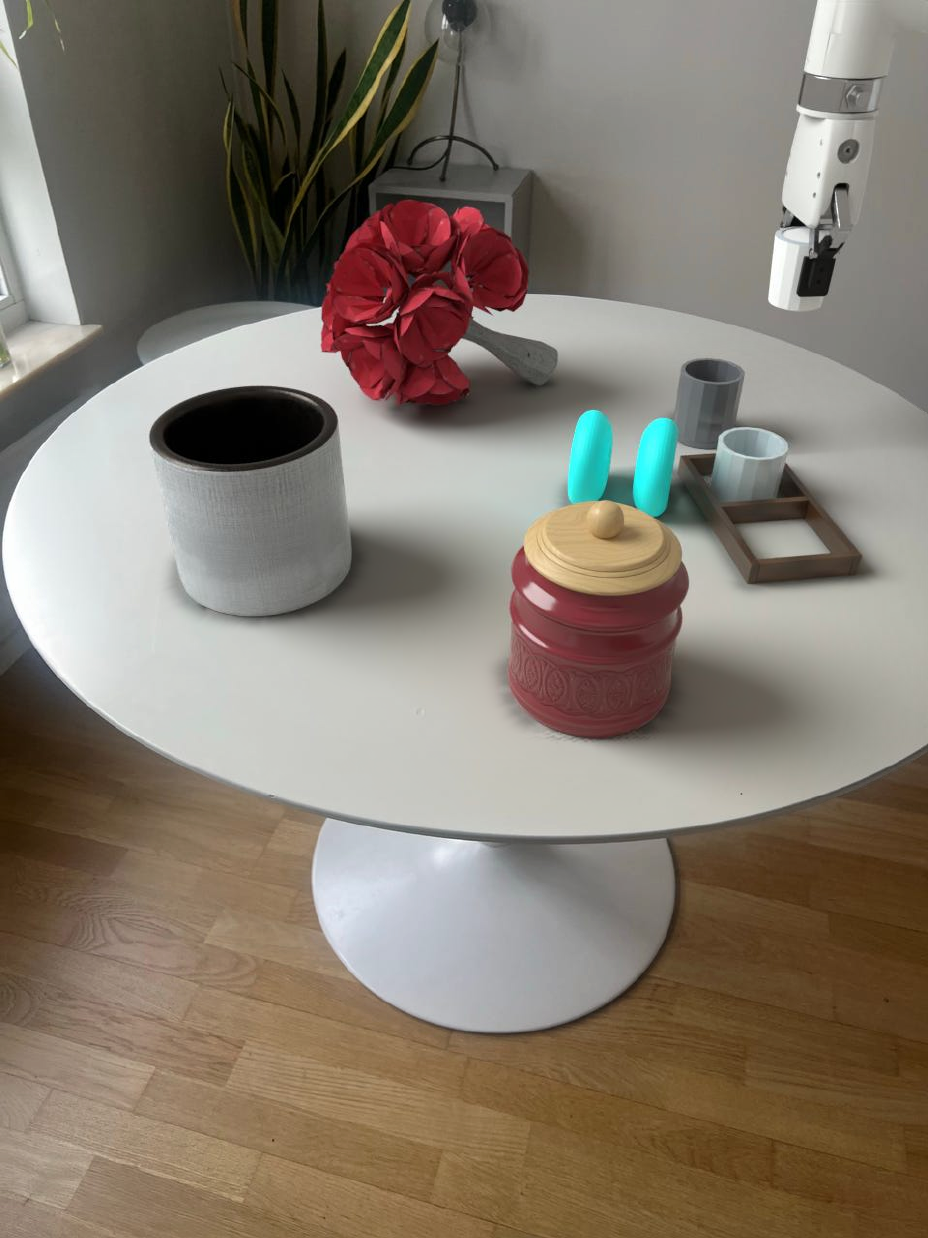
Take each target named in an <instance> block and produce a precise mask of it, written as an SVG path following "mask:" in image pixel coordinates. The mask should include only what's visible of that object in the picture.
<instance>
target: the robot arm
mask: <svg viewBox="0 0 928 1238" xmlns="http://www.w3.org/2000/svg"><path fill="white" fill-rule="evenodd" d="M814 11H815V12H814V16H813V22H812V26H811V32H810V37H809V42H808V47H807V53H806V57H805V63H804V68H803V74H802V78H801V84H800V88H799V93H798V99H797V103H796V109H795V110H796V112H798V113H799V117H798V121H797V125H796V129H795V131H794V135H793V136H794V137H793V140H792V143H791V147H790V152H789V155H788V160H787V164H786V169H785V173H784V174H785V175H784V180H783V186H782V193H781V201H782V205H783V206H782V207H781V209H782V212H783V213H782V214H783V216H782V218H781V221H780V223H779V230H780V229H782V228H788V227H804V226H805V227H809V228H810V231H809V253H808V256H804V259H803V263H802V268H801V272H800V277H799V282H798V286H797V291H796V294H797V295H798V296H799V297H819V296H824V297H826V296H828V294H829V291H830V288H831V287H830V286H831V283H832V278H833V274H834V269H835V266H836V263H837V260H836V258H837V259H838V258H839V256H840V253H841V249H842V248H843V246H844V245H845V242H846V240H847V239H848V237H849V236H850V235H851V233H852V230H853V228H854V227H856V225H857V224H858V222H859V220H860V215H861V210H862V206H863V201H864V197H865V192H866V187H867V183H868V177H869V171H870V168H871V161H872V156H873V155H872V154H873V147H874V141H875V140H874V137H875V129H876V118H875V117H877V116H878V115H879V112H880V107H881V103H882V99H883V95H884V91H885V86H886V82H887V80H888V79H887V78H888V75H889V71H890V67H891V62H892V58H893V54H894V51H895V46H896V42H897V38H898V34H899V32H900V31H909V32H918V33H924V34H928V0H817V2H816V7H815V10H814ZM820 220H832V223H821V222H820ZM819 232H830V234H829V235H825V236H824V238H823V239H822V240H821V241H820V243H819ZM835 262H836V263H835Z"/></svg>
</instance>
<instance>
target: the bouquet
mask: <svg viewBox="0 0 928 1238" xmlns="http://www.w3.org/2000/svg"><path fill="white" fill-rule="evenodd" d="M484 221H485V218H484V216H483V213H482V211H481V210H480V209H479V208H476V207H472V206H464V207H461V208H460V206H458V207H457V209H456V211H455V212H454V213H453V215H452V214H451V215H448V213H447V212H446V211H445V210H444V209H443V208H441V207H440V206H438V205H435V204H433V203H428V202H422V201H418V200H413V199H405V200H404V199H403V200H398V201H397V202H396V203H395V204H394V203H389V204H386V205H385V206H383V208H382V209H380V210H377V211H375V213H374V214H371V215H370V216H369V217H367V219H365V220H364V221H363V223H362V224H361V226H358V227H357V228H356V229H355V230H354V232H353V233H352V234H351V235H350V236H349V238H348V240H347V242H346V245H345V247H344V250H343V252H342V253H341V254H340V256H339V258H338V260H337V261H335V262H333V269H334V272H333V274H332V275H331V279H330V280H329V282H328V283H325V286H326V287H327V289H326V296H324V298H323V301H322V305H321V314H320V315H321V316H320V317H321V321H322V323H323V324H322V327H321V331H320V348H321V353H327V354H336V353H338V352H339V353H340V355H341V359H342V361H343V363H344V364H345V366H346V367H347V369H348V371H349V374H350V376H351V377H352V379H353V380H354V381H355V382H356V384H357V385H358V386H359V387H358V388H359V389H360V390H361V391H362V393H363V394H364V396H366V397H368V398H369V399H371V400H372V401H376V402H379V401H381V400H383V399H385V398H386V400H385V401H388V400H389V399H390V398H391V397H393V395H394V394H395V396H396V408H397V409H398V408H399V406H400V405H402V404H407V403H410V404H413V405H417V406H418V405H427V404H428V405H434V406H443V405H448V404H449V405H450V404H452V402H459V401H460V400H461V399H462V397H464V398H466V397H468V396H469V393H470V389H469V388H470V379H468V377H467V376H466V375H465V373H464V372H463V371H462V369H461V368H460V367H459V365H458V363H457V361H456V360H454V359H453V358H452V357H451V356H450V355H449V354H450V353H451V352H452V349H453V348H455V347H456V346H457V345H458V344H459V342H460V340H461V339H462V340H466V341H469V342H470V343H473V344H476V345H478V346H479V347H481V348H483V349H484V350H485V351H488V352H489V353H490V354H492V355H493V356H494V357H495V358H496V359H497V360H499V361H500V362H501V363H503V364H504V365H505V367H507V368H508V369H510V370H511V371H512V372H514V373H515V374H516V375H518V376H519V377H521V378H522V379H524V380H525V381H527V382H529V383H531V384H533V385H535V386H537V387H538V386H543V385H544V384H546V383H547V382H548V381H549V380H550V378H551V377H552V376H553V374H554V372H555V370H556V368H557V364H558V359H559V354H558V353H559V352H558V350H557V349H556V348H554V347H553V346H551V345H549V344H547V343H546V342H543V341H541V340H537V339H536V340H535V339H531V338H526V337H521V336H517V335H512V334H508V333H507V334H506V333H503V332H500V331H496V330H493V329H491V328H488V327H486V326H484V325H483V324H480V323H479V322H477V321H476V320H474V317H475V316H473V311H474V308H476V309H478V310H479V311H482V312H484V313H487V314H489V315H491V316H493V313H492V312H491V311H490V310H489V309H491V310H494V311H497V312H499V313H501V312H503V311H510V312H512V313H514V312H516V311H517V310H518V309H519V308H521V307H522V306H523V304H524V302H525V299H526V296H527V292H528V286H529V274H530V271H529V267H528V264H527V260H526V258H525V257H524V255H523V253H522V252H521V250H520V249H519V248H517V247H515V246H514V245H513V243H512V237H510V236H509V235H508V234H507V233H505V232H504V231H503V230H500V229H497V228H494V227H491V226H490V225H488V224H487V223H486V222H484ZM449 263H450V272H449V271H448V270H444V269H445V268H446V267H447V266H448V265H449ZM443 270H444V271H443ZM409 276H410V277H412V278H413V279H416V280H414V282H412V283H411V285H410V282H409ZM468 278H469V279H468ZM467 279H468V280H467ZM384 288H385V289H387V292H385V290H384ZM488 308H489V309H488ZM395 311H396V315H395V317H394V316H393V314H394V313H395ZM397 311H398V312H397ZM393 317H394V320H393V322H387V323H385V324H380V323H383V322H384V321H385V322H386V321H387V320H390V319H391V318H393Z"/></svg>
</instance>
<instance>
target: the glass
mask: <svg viewBox="0 0 928 1238" xmlns="http://www.w3.org/2000/svg"><path fill="white" fill-rule="evenodd" d="M715 449H716V451H715V453H716V455H715V460H714V465H713V470H712V474H711V477H710V482H709V485H708V487H709V489H710V490H711V492H712V493H713V495H714V496H715V498H716V499H717V501H718V502H719V503H725V502H738V501H751V500H764V499H777V498H778V493H779V490H780V487H779V486H780V482H781V477H782V473H783V469H784V465H785V462H786V460H787V456H788V452H789V443H788V442H787V441H786V440H785V438H783V436H780V435H779V434H777V433H775V432H773V431H770V430H767V429H763V428H760V427H759V428H758V427H752V426H751V427H750V426H749V427H748V426H745V427H744V426H743V427H742V426H741V427H740V426H739V427H734V428H733V429H729V430H726V431H724V432H723V433H722V434H721V435H720V436H719V439H718V444H717V448H715Z"/></svg>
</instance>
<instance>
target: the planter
mask: <svg viewBox="0 0 928 1238" xmlns="http://www.w3.org/2000/svg"><path fill="white" fill-rule="evenodd" d="M338 417H339V416H338V414H337V413H336V410H335V409H334V408H333V406H332V405H331V404H329V403H328V402H327V401H326V400H324V399H323V398H321V397H319V396H317V395H315V394H312V393H310V392H307V391H304V390H300V389H296V388H291V387H286V386H279V385H242V386H240V385H239V386H234V387H233V386H232V387H226V388H225V387H224V388H220V389H216V390H211V391H208V392H204V393H200V394H198V395H195V396H192V397H190V398H187V399H184V400H182V401H181V402H179V403H177V404H175V405H173V406H171V407H170V408H168V409H167V410H166V411H164V412H163V413H162V414H161V415H159V416H158V417H157V419H156V420H155V421H154V422H153V423H152V425H151V427H150V430H149V433H148V443H149V447H150V452H151V457H152V460H153V464H154V469H155V474H156V477H157V481H158V486H159V492H160V494H161V500H162V504H163V509H164V513H165V519H166V523H167V528H168V532H169V537H170V542H171V546H172V552H173V556H174V560H175V565H176V569H177V573H178V578H179V579H180V580H179V581H180V582H181V584H182V587H183V589H184V590H185V592H186V593H187V595H188V596H189V597H190V598H191V599H192V600H194V601H195V602H196V603H198V604H199V605H201V606H203V607H205V608H206V609H209V610H212V611H215V612H217V613H220V614H225V615H230V616H238V617H267V616H269V617H270V616H277V615H281V614H286V613H290V612H294V611H297V610H301V609H303V608H306V607H308V606H311V605H313V604H314V603H317V602H319V601H321V600H322V599H324V598H326V597H327V596H328V595H330V594H331V593H333V592H334V591H335V590H336V589H337V588H338V587H339V586H340V585H341V584H342V583H343V581H344V580H346V577H347V576H348V574H349V572H350V569H351V565H352V554H353V550H352V538H351V529H350V520H349V513H348V512H349V510H348V503H347V494H346V485H345V475H344V467H343V458H342V447H341V438H340V437H341V436H340V426H339V418H338Z"/></svg>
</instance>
